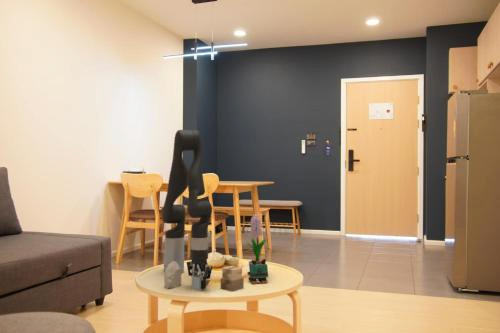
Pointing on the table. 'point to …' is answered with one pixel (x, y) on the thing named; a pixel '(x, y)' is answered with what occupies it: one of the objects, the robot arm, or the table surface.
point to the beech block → (232, 273)
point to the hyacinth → (257, 248)
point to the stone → (172, 275)
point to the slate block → (197, 282)
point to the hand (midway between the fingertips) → (199, 287)
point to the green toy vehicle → (258, 272)
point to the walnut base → (232, 284)
